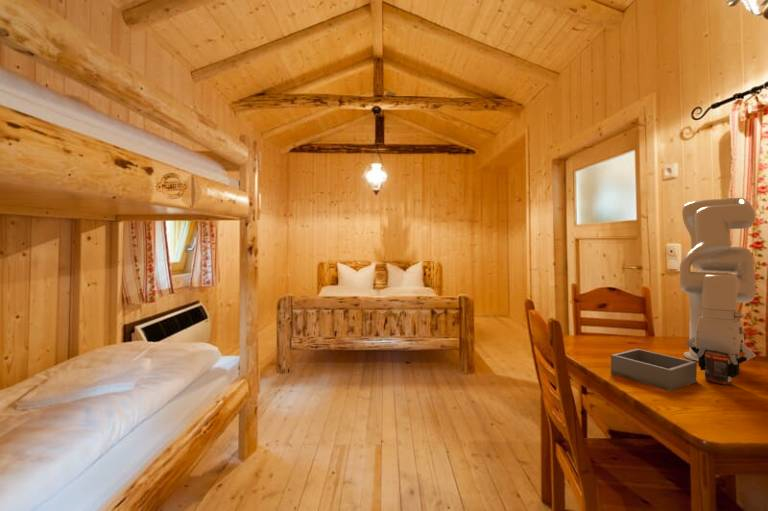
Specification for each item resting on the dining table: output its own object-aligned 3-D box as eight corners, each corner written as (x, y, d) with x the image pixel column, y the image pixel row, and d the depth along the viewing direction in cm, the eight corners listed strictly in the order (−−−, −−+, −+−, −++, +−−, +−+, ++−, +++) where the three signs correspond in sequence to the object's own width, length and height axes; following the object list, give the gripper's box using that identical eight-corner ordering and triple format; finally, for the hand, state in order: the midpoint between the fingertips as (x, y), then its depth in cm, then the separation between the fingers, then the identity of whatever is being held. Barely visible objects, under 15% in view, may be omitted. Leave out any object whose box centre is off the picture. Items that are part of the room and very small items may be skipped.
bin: (637, 365, 115) (637, 348, 115) (696, 381, 101) (696, 362, 101) (610, 373, 108) (611, 354, 108) (670, 391, 94) (671, 370, 94)
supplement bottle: (738, 386, 98) (738, 348, 98) (714, 384, 99) (714, 347, 99) (721, 378, 104) (722, 342, 103) (699, 377, 105) (700, 341, 105)
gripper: (764, 318, 95) (764, 380, 95) (688, 309, 110) (688, 362, 111) (755, 320, 92) (754, 385, 92) (677, 311, 107) (677, 366, 107)
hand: (718, 372), depth 101 cm, fingers closed on supplement bottle, 6 cm apart
